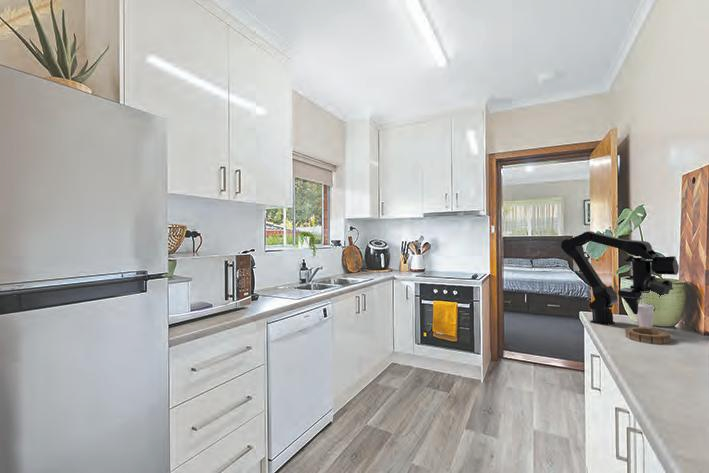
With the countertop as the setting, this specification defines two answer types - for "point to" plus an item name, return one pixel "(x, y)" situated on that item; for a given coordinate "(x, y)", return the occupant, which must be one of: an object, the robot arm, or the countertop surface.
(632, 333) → the walnut ring
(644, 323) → the smoothie
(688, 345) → the countertop surface
